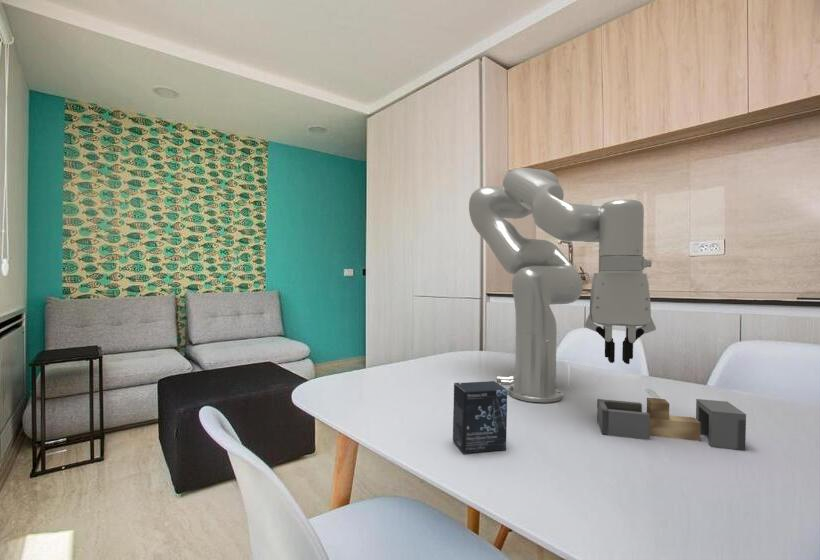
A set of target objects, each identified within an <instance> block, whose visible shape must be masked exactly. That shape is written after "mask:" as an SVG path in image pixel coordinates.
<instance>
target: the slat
mask: <svg viewBox="0 0 820 560" xmlns="http://www.w3.org/2000/svg"><path fill="white" fill-rule="evenodd" d="M646 413H649V414H650V437H657V438H668V439H669V438H670V439H677V440H684V441H685V440H687V441H695V442H696V441H697V442H701V435H702V434H701V423H700V422H699V421H698V420H697V419H696V417H691V416H681V415H672V414H670V403H669V402H668V401H667V399H665V398H660V399H658V398H653V397H646Z"/></svg>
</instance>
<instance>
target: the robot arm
mask: <svg viewBox="0 0 820 560" xmlns="http://www.w3.org/2000/svg"><path fill="white" fill-rule="evenodd" d="M468 213H469V218H470V221H471V223H472V226H473V227H474V229H475V230H476V231H477V233H478V234H479V235H480V237H481V238H483V240H484V241H485V242H486V244H488V246H489V248H490V249H491V252H492V253H493V255H494V256H495V257H496V259H497V261H498V262H499V264H500V265H501V266H502V268H503V269H504V270H505V271H506V272H507V273H509V274H512V275H513V277H512V279H511V280H512V281H511V289H512V295H513V300H514V309H515V360H514V361H515V363H514V364H515V365H514V366H515V371H514V373H513V374H511V375H509V376H505V375H496V383H498V384H500V385H501V386H509V387H508V394H509V396H511V397H512V398H514V399H517V400H521V401H524V402H532V403H542V404H543V403H554V402H559V401H561V400H562V399H563V392H562V391H561V390H560V389H558V388H557V386H556V385H557V336H558V335H557V329H558V328H557V320H556V317H555V314H554V312H553V311H552V308H551V305H567V304H568V305H569V304H572V303H575V302H576V301H578V300H579V298H580V297H581V296H582V294H583V289H584V287H583V285H584V284H583V279H582V277H581V275H580V273H579V271H578V270H577V268H576V267H575V266H574V265H573V264H572V263H571V261H570V260H569V258H567V256H566V255H565V254H564V253H563V252H562V251H561V249H560V248H559V247H558V246H557V245H556V244H554V243H553V242H551V241H549V240H546V239H535V238H527V237H524V236H523V235H522V234H520V232H519V231H518V230H517V228H516V227H515V226H514V225H513V224H512V223H511V222H510V221H508V220H506V219H512V220H513V219H523V218H527V216H530V215H531V216H532V219H533V222H534V224H535V225H536V226H537V227H538V228H539V229H541V230H542V231H543V232H544V233H546V234H548V235H550V236H552V237H553V238H555V239H558V240H561V241H564V242H565V241H566V242H584V243H598V272H595V273H593V276H592V281H591V289H590V300H589V314H588V316H587V318H586V321H585V322H584V326H585V328H586V329H589V330H591V331H594V332H596V333H597V334H599V335H600V336H601V337H602V338H603V340H604V357H605V358H607V360H608V362H609V363H610V364H614V363H615V362H616V361H615V358H616V357H615V356H616V355H615V353H616V351H615V350H616V348H615V347H616V343H615V341H614V338H613V326H619V327H625V337H624V340H623V341H622V351H621V352H622V353H621V354H622V357H621V358H622V362H623V363H625V364H626V365H630V362H631V361H630V360H633V358H634V343H636V341H637V340H638V339H639V338H640V337H641V336H643V335H644V334H648V333H651V332H654V331H656V329H657V328H656V325H655V323H654V320H653V318H652V309H651V308H652V307H651V305H652V304H651V296H650V295H651V293H650V285H649V279H648V276H647V273H643V271H644V269H647V268H651V267H652V260H651V259H646V258H645V256H644V218H645V217H644V214H645V208H644V205H643V203H642V202H641V201H639V200H636V199H616V200H609V201H607V202H604V203H602V205H591V204H584V203H582V204H581V203H569V202H568V201H565V200H564V190H563V188H562V186H561V185H560V182H559V179H558V178H557V176H556V175H555V173H553V172H551V171H550V170H545V169H536V168H530V167H516V168H514V169H510V171H508V172H507V173H506V174H505V176H504V177H503V180H502V186H495V185H494V186H488V185H487V186H482V187H479V188H477V189H476V190H474V191H473V192H472V193H471V196H470V198H469V203H468ZM600 325H601V326H600Z"/></svg>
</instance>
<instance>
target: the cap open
mask: <svg viewBox="0 0 820 560" xmlns="http://www.w3.org/2000/svg"><path fill="white" fill-rule="evenodd" d="M596 406H597V411H596V412H597V413H596V421H597V425H598V426H599V429H601V430H600V432H601V434H602V435H603V436H614V437H623V438H630V439H631V438H632V439H640V440H648V441H649V440H650V438H651V436H650V414H649V413H647V412H644V411H643V404H642V403H641V402H635V401H623V400H613V399H602V398H597V405H596ZM642 411H643V412H642Z"/></svg>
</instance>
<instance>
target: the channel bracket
mask: <svg viewBox="0 0 820 560" xmlns="http://www.w3.org/2000/svg"><path fill="white" fill-rule="evenodd" d="M695 400H696V401H695V402H696V404H695V418H696V419H697V420H698V421H699V422H700V423H701V435H708V440H707V441H708V442H707V444H708V445H709V446H710V447H712V448H720V449H729V450H736V451H737V450H739V451H746V440H747V439H746V436H747V435H746V434H747V431H746V430H747V414H746V413H745V412H744V411H742V410H741V409H740V408H738V407H736V406H734V405H733V404H731V403H730V402H729V401H727V400H726V401H725V400H714V399H701V398H696V399H695Z"/></svg>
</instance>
